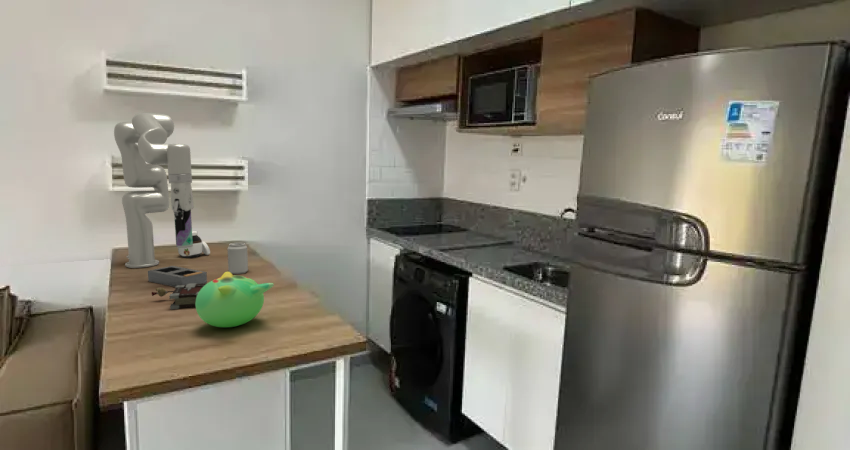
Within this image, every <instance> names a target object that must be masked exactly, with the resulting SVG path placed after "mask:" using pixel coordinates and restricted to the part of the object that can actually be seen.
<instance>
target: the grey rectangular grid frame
mask: <svg viewBox="0 0 850 450" xmlns="http://www.w3.org/2000/svg"><path fill="white" fill-rule="evenodd" d="M147 280H148V282H149V283H150V282H151V283H155V284H160V285H164V286H170V287H174V288H175V287H176V286H178V285H186V284H190V283H197V284H204V283H208V276H207V271H203V270H198V269H197V270H196V269H191V268H188V267H187V268H185V267H181V266H176V265H169V266H166V267H159V268H154V269H149V270H147Z"/></svg>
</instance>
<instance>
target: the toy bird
mask: <svg viewBox="0 0 850 450" xmlns="http://www.w3.org/2000/svg"><path fill="white" fill-rule="evenodd" d="M274 285H275V284H274V283H273V282H264V283H257V282H256V280H254V279H252V278H250V277H248V276H245V275H244V276H243V275H237V274H232V273H230V272H229V271H225V272H223V274H222V275H221V276H220V277H217V278H215V279H212V280H210V281H208V282H207V284H206V285H205V286H204V287H203V288H202V289H201V290H200V291H199V293H198V295H197V297H196V302H195V306H196V307H195V310H196V313H197V315H198V317H199V318H200V319H201V320H202V321H203V322H204V323H205V324H207V325H210V326H212V327H215V328H216V327H217V328H233V327H238V326H242V325H244V324H247V323H248V322H250V321H251V320H253V319H254V318H255V317H257V316H258V314H260V312H261V310H262V308H263V305H264V301H265V297H264V296H265V295H264V293H265V292H267V291H268V290H270V289H272V288H273V287H274Z"/></svg>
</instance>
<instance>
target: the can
mask: <svg viewBox="0 0 850 450" xmlns="http://www.w3.org/2000/svg"><path fill="white" fill-rule="evenodd" d="M226 250H227V266H228V267H227V268H228V271H227V272H230V273H232V275H241V274H246V273H247V272H248V271H249V263H248V262H249V261H248V258H249V257H248V246H247V245H246V243H245V242H231V243H229V244H228V247H227V249H226Z"/></svg>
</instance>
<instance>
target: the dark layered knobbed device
mask: <svg viewBox="0 0 850 450" xmlns="http://www.w3.org/2000/svg"><path fill="white" fill-rule="evenodd" d="M207 283H208V282H207ZM207 283H203V284H197V283H190V284H186V285H178V286H176V287H174V288H175V289H174V290H169V291H167V290H166V289H165V288H164V287H155V291H156V292H155V291H151V296H152V297H154V296H156V295H158V296H159V297H165V296H166V294H168V293H170V294H169V297H168V298H169V300H174V301H173V302H172V303H170V306H169V308H170V310H179V309H183V308H184V309H186V308H196V306H195V302H196V297H197V295H198V293H199V291H200V290H201V289H202V288H203V287H204V286H205V285H206V284H207Z"/></svg>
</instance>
